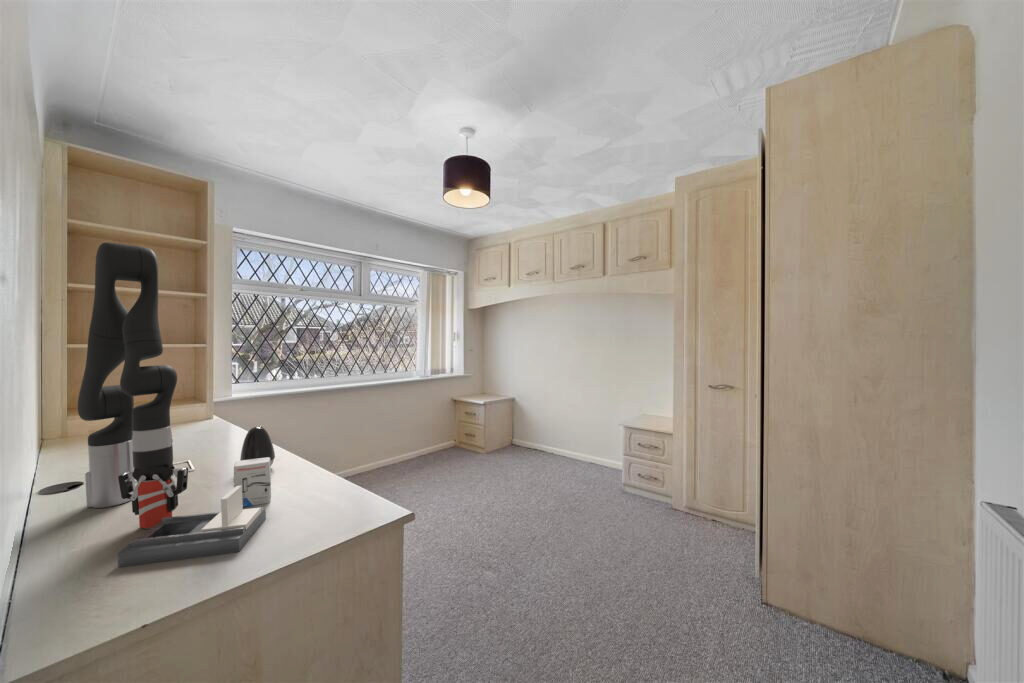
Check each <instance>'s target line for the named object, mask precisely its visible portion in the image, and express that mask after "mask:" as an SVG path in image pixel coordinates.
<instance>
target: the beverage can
mask: <svg viewBox="0 0 1024 683" xmlns="http://www.w3.org/2000/svg"><path fill="white" fill-rule="evenodd" d="M165 483H166V484H170V480H167V481H166V482H165ZM168 497H169V496H168V495H167V493H166V492H165V490H163V485H162V484H161V482H159V481H157V479H156V480H148V481H141V483H140V485H139V486H138V505H139V515H138V520H139V528H141V529H142V528H143V529H146V530H149V529H151V528H152V527H153V526H155V525H156V524H157V523H159V522H160V521H161V520H162V519H163V518H166V517H173V511H171V512H168V503H167V498H168Z"/></svg>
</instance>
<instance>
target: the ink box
mask: <svg viewBox="0 0 1024 683" xmlns="http://www.w3.org/2000/svg"><path fill="white" fill-rule="evenodd" d="M271 476H272V475H271V466H270V458H269V457H266V458H258V459H250V460H242V461H240V460H238V461H236V462H234V465H233V488H235V487H236V486H242V501H243V508H247V507H252V506H254V507H255V506H258V505H259V506H260V505H265V504H269V503H271V500H272V482H271V481H272V480H271V479H272V478H271Z"/></svg>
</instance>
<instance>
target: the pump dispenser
mask: <svg viewBox="0 0 1024 683" xmlns="http://www.w3.org/2000/svg"><path fill="white" fill-rule="evenodd" d="M275 453H276V452H275V448H274V445H273V442H272V438H271V437H270V435H269V433H268V431H267V430H266V429H265V428H264V427H263V426H262V425H260V426H253V427H252V428H250V429H249V430H248V431H247V433H246V434H245V437H244V440H243V443H242V447H241V452H240V458H239V461H242V460H250V459H258V458H266V457H269V458H270V467H272V465H273V463H274V460H275V458H276V454H275Z"/></svg>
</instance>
